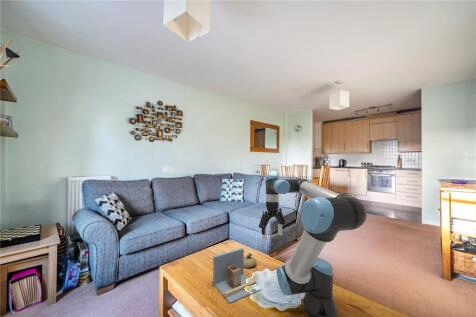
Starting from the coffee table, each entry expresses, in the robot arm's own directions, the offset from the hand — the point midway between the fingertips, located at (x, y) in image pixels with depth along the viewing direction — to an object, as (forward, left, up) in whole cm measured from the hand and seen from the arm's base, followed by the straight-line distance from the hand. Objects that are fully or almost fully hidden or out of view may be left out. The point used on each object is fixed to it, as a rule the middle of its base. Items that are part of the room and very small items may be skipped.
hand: (272, 237), depth 115 cm
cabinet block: (+10, +21, -25) cm, 34 cm away
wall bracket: (+8, +20, -26) cm, 34 cm away
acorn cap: (+24, 0, -27) cm, 36 cm away
